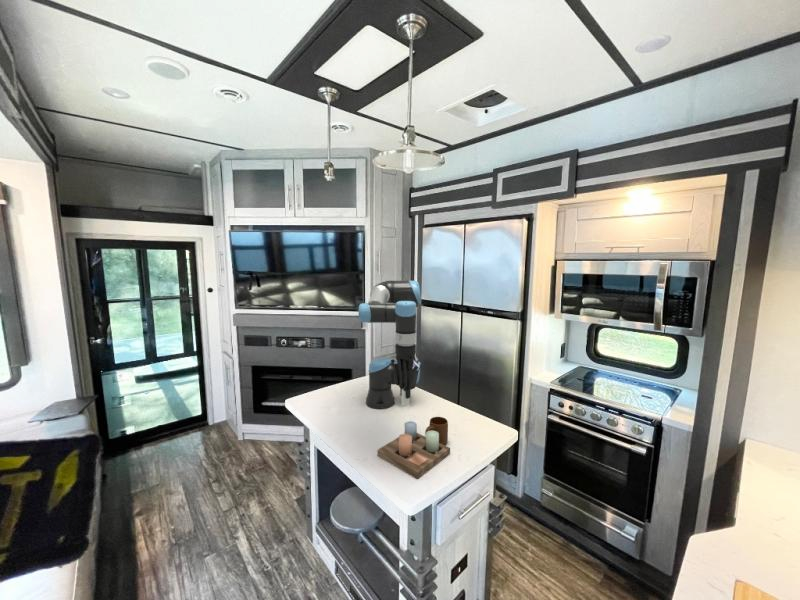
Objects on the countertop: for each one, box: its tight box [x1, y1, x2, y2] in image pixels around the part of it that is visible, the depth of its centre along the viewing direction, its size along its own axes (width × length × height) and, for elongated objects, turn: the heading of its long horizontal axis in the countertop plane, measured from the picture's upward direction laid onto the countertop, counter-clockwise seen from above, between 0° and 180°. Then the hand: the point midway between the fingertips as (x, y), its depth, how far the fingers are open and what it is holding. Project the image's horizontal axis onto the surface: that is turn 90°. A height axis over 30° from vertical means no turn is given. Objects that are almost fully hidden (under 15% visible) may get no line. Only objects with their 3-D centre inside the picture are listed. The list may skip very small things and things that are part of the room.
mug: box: [424, 416, 449, 446], centre depth 134 cm, size 12×8×9 cm, turn 136°
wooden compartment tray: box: [376, 432, 451, 480], centre depth 127 cm, size 20×20×3 cm
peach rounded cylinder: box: [398, 433, 413, 457], centre depth 124 cm, size 5×5×6 cm
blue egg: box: [403, 420, 418, 442], centre depth 134 cm, size 5×5×6 cm
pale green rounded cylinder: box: [425, 430, 439, 453], centre depth 127 cm, size 5×5×6 cm
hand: (405, 405), depth 122 cm, fingers closed
